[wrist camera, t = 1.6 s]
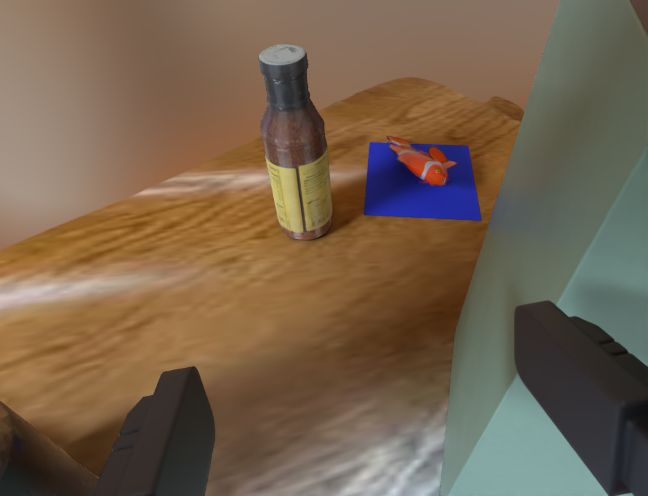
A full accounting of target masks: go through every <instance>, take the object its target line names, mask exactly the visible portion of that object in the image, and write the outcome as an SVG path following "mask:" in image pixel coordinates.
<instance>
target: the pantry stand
mask: <svg viewBox="0 0 648 496" xmlns="http://www.w3.org/2000/svg"><path fill="white" fill-rule="evenodd" d="M546 300H549V301H551V302H553V303H554V304H555V305H556V306H557V307H558V308H559V309H561V310H562V311H563V312H564V313H565V314H566V315H567V316H569V317H572V316H577V317H580V318H582V319H584V320H586V321H589V322H591V323H593V324H595V325H598V326H599V327H600V328H601V329H603V330H604V331H605V332H606V333H608V334H609V335H610V336H611V337H612V338H614V341H615V342H618V343H620V344H621V345H622V346H623V347H624V348H626V349H627V350H628V353H629V354H630V353H632V354H633V355H634V356H635V357H637V358H638V359H639V360H640V361H641V362H643V363H644V364H645V365H646V366H647V367H648V0H560V2H559V5H558V8H557V11H556V14H555V18H554V21H553V24H552V27H551V30H550V33H549V36H548V40H547V43H546V46H545V49H544V52H543V56H542V59H541V62H540V65H539V68H538V71H537V74H536V78H535V81H534V84H533V87H532V90H531V93H530V96H529V100H528V103H527V106H526V109H525V112H524V115H523V118H522V121H521V125H520V128H519V131H518V134H517V137H516V140H515V144H514V147H513V150H512V153H511V156H510V159H509V162H508V166H507V169H506V172H505V175H504V178H503V181H502V184H501V188H500V191H499V194H498V197H497V200H496V203H495V207H494V210H493V213H492V216H491V219H490V222H489V225H488V229H487V232H486V235H485V238H484V241H483V244H482V247H481V251H480V254H479V257H478V260H477V263H476V266H475V269H474V273H473V276H472V279H471V282H470V285H469V288H468V292H467V295H466V298H465V301H464V304H463V307H462V310H461V314H460V317H459V320H458V323H457V326H456V329H455V338H454V349H453V359H452V370H451V380H450V391H449V401H448V412H447V422H446V433H445V443H444V454H443V464H442V474H441V485H440V495H439V496H608V494H607V493H606V492H605V490H604V489H603V488H602V486H601V485H600V484H599V483H598V481H597V480H596V479H595V477H594V476H593V475H592V473H591V472H590V471H589V469H588V468H587V467H586V465H585V464H584V463H583V461H582V460H581V459H580V457H579V456H578V455H577V453H576V452H575V451H574V449H573V448H572V447H571V446H570V444H569V443H568V442H567V440H566V439H565V438H564V436H563V435H562V434H561V432H560V431H559V430H558V428H557V427H556V426H555V424H554V423H553V422H552V420H551V419H550V418H549V416H548V415H547V414H546V412H545V411H544V410H543V409H542V407H541V406H540V405H539V403H538V402H537V401H536V399H535V398H534V397H533V395H532V394H531V393H530V391H529V390H528V389H527V387H526V386H525V385H524V383H523V382H522V380H521V379H520V376H519V374H518V372H517V369H516V365H515V359H514V312H515V308H516V307H517V306H519V305H525V304H530V303H535V302H540V301H546ZM618 496H634V495H633V494H632V493H628V494H623V495H618Z"/></svg>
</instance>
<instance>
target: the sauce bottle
mask: <svg viewBox="0 0 648 496" xmlns="http://www.w3.org/2000/svg"><path fill="white" fill-rule="evenodd" d="M259 62H260V70H261V73H262V74H263V76H264V79H265V84H266V90H267V102H268V107H267V109H266V111H265V113H264V116H263V119H262V120H261V132H262V137H263V142H264V147H265V157H266V162H267V166H268V171H269V176H270V181H271V186H272V191H273V196H274V201H275V206H276V211H277V216H278V220H279V222H280V224H281V227H282V229H283V231H284V232H285V233H286V234H287V235H288V236H289V237H290V238H294V239H300V240H312V239H316V238H318V237H320V236H322V235H324V234H325V233H326V232H327V231H328V230H329V229H330V226H331V223H332V210H333V209H332V198H331V186H330V175H329V162H328V150H327V142H326V139H325V133H324V131H325V129H324V121H323V119H322V118H321V116H320V115H319V113H318V112H317V110H316V108H315V106H314V105H313V103H312V101H311V100H310V93H309V91H308V83H307V68H308V60H307V54H306V51H305V49H304V48H302V47H300V46H297V45H292V44H280V45H275V46H272V47H269V48H267V49H265V50H264V51H263V52H261V53H260V55H259Z"/></svg>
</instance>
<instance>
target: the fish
mask: <svg viewBox="0 0 648 496" xmlns="http://www.w3.org/2000/svg"><path fill="white" fill-rule="evenodd" d="M387 139H389V140H390V141H391V142H393V143H390V144H389V145H388V146H387V147H388V149H389V150H390V151H391V152H393V153H394V154H396V155H397V157H396V161H397V162H398V163H400V164H402V165H404V166H405V167H406V168H407V169H408V170H409V171H410V172H411V173H412V174H413V175H414V176H416V177H417V178H419V179H420V180H417V181H415V182H414V183H415V184H422V185H430V186H436V187H443V186H445V185H446V184H447V183H450V182H451V180H450V179H449V172H448V170H449V169H451V168H453V167H455V166H456V165H458V164H459V163H458V162H457V161H454V160H449V159H448V157H447V156H446V155H445V153H444V152H443V151H442V150H441V149H440V148H438V147H437V146H436V145H430V146H429V147H428V148H427V152H426V151H424V150H422V149H416V148H414V147H412V146H411V144H410V143H409V142H408V141H406V140H404V139H401V138H397V137H392V136H387Z"/></svg>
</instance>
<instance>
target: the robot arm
mask: <svg viewBox="0 0 648 496" xmlns="http://www.w3.org/2000/svg"><path fill="white" fill-rule="evenodd" d="M514 359H515V365H516V369H517V372H518V374H519V376H520V379H521V380H522V382H523V383H524V385H525V386H526V387H527V389H528V390H529V391H530V393H531V394H532V395H533V397H534V398H535V399H536V401H537V402H538V403H539V405H540V406H541V407H542V409H543V410H544V411H545V412H546V414H547V415H548V416H549V418H550V419H551V420H552V422H553V423H554V424H555V426H556V427H557V428H558V430H559V431H560V432H561V434H562V435H563V436H564V438H565V439H566V440H567V442H568V443H569V444H570V446H571V447H572V448H573V449H574V451H575V452H576V453H577V455H578V456H579V457H580V459H581V460H582V461H583V463H584V464H585V465H586V467H587V468H588V469H589V471H590V472H591V473H592V475H593V476H594V477H595V479H596V480H597V481H598V483H599V484H600V485H601V486H602V488H603V489H604V490H605V492H606V493H607V494H608V496H618V495H623V494H628V493H632V494H633V495H634V496H648V367H647V366H646V365H645V364H644V363H643V362H641V361H640V360H639V359H638V358H637V357H635V356H634V355H633V354H632V353H630V354H629V353H628V350H627V349H626V348H624V347H623V346H622V345H621V344H620V343H618V342H615V341H614V338H612V337H611V336H610V335H609V334H608V333H606V332H605V331H604V330H603V329H601V328H600V327H599V326H598V325H595V324H593V323H591V322H589V321H586V320H584V319H582V318H580V317H577V316H572V317H569V316H567V315H566V314H565V313H564V312H563V311H562V310H561V309H559V308H558V307H557V306H556V305H555V304H554V303H553V302H551V301H549V300H546V301H540V302H535V303H530V304H525V305H519V306H517V307H516V308H515V312H514ZM214 441H215V423H214V417H213V414H212V410H211V407H210V404H209V401H208V398H207V396H206V393H205V390H204V387H203V384H202V381H201V378H200V375H199V372H198V370H197V368H196V367H194V366H192V367H187V368H182V369H176V370H171V371H166V372H163V373H162V374H161V376H160V379H159V381H158V384H157V387H156V389H155V392H154V394H153V395H151V396H146V397H143V398H142V399H141V400H140V401H139V402H138V403H137V405H136V406H135V407H134V408H133V409H132V410H131V411H130V412H129V413H128V415H127V417H126V419H125V421H124V424H123V426H122V428H121V430H120V436H118V437H117V439H116V442H115V444H114V446H113V451H112V452H111V453H110V455H109V457H108V460H107V462H106V464H105V466H104V469H103V471H102V473H101V475H100V477H99V476H97V475H95V474H93V473H91V472H90V471H89V470H87V469H86V468H85V467H84V466H83V465H81V464H80V463H79V462H78V461H76V460H75V459H74V458H73V457H71V456H70V455H69V454H67V453H66V452H65V451H64V450H62V449H61V448H60V447H58V446H57V445H56V444H55V443H53V442H52V441H51V440H50V439H48V438H47V437H46V436H44V435H43V434H42V433H41V432H39V431H38V430H37V429H36V428H34V427H33V426H32V425H30V424H29V423H28V422H27V421H25V420H24V419H23V418H21V417H20V416H19V415H18V414H16V413H15V412H14V411H13V410H11V409H10V408H9V407H7V406H6V405H5V404H4V403H2V402H1V401H0V496H205V491H206V485H207V480H208V474H209V469H210V464H211V458H212V453H213V447H214Z"/></svg>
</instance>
